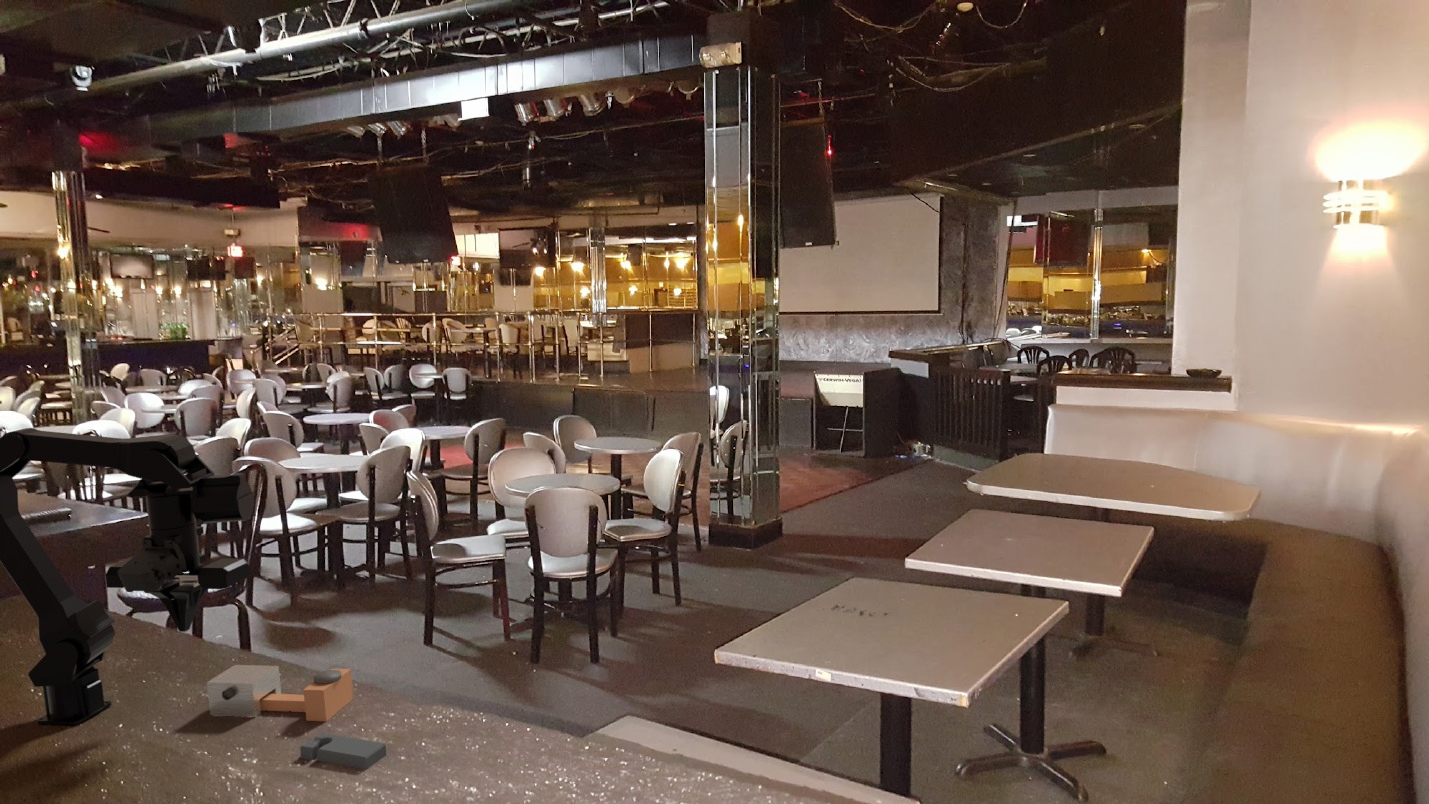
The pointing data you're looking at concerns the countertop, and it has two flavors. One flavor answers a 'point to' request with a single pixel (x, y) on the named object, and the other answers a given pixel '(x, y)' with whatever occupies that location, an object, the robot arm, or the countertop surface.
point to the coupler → (315, 696)
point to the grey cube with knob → (242, 689)
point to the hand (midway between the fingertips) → (184, 630)
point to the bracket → (343, 751)
